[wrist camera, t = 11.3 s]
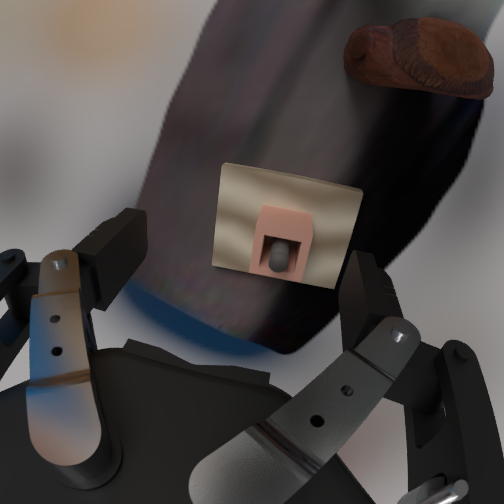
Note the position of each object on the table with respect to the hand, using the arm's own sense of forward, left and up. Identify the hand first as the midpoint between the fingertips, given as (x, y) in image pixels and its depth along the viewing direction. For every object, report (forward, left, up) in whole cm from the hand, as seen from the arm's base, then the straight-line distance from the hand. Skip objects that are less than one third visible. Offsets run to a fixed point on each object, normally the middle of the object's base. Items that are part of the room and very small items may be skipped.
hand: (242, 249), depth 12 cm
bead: (+11, +2, -26) cm, 28 cm away
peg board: (+11, +2, -27) cm, 30 cm away
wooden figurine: (-12, +10, -28) cm, 32 cm away
